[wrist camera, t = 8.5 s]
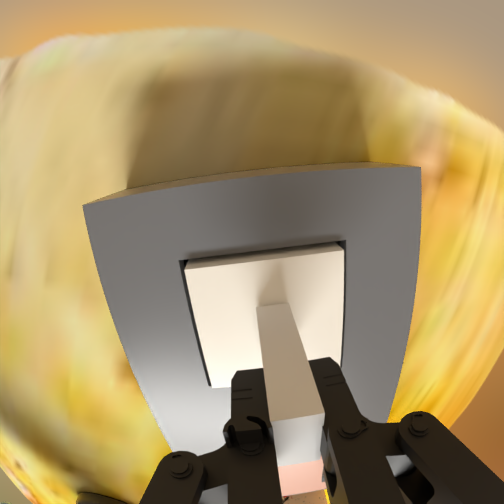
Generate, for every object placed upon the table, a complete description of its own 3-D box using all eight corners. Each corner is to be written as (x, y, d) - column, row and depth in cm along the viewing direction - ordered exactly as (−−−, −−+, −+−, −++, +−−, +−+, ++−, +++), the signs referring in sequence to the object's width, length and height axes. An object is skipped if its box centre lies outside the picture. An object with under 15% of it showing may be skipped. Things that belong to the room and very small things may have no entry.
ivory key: (215, 346, 19) (212, 388, 15) (195, 243, 16) (184, 269, 13) (322, 332, 19) (339, 370, 15) (320, 228, 17) (343, 250, 13)
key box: (206, 456, 26) (203, 500, 21) (125, 189, 18) (82, 205, 12) (350, 437, 27) (365, 478, 21) (370, 161, 18) (420, 167, 12)
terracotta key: (243, 465, 22) (245, 499, 18) (232, 423, 20) (232, 464, 16) (318, 454, 22) (327, 488, 18) (322, 410, 20) (335, 449, 16)
